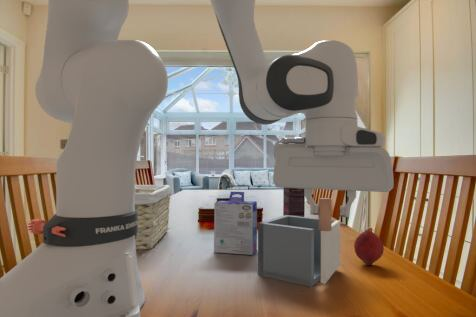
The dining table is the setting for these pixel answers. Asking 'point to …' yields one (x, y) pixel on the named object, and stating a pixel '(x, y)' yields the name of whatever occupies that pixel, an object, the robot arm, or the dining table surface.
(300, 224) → the grey open box
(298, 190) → the supplement box
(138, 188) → the storage basket
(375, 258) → the onion
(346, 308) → the dining table surface
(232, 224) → the ink cartridge box
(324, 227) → the flap
